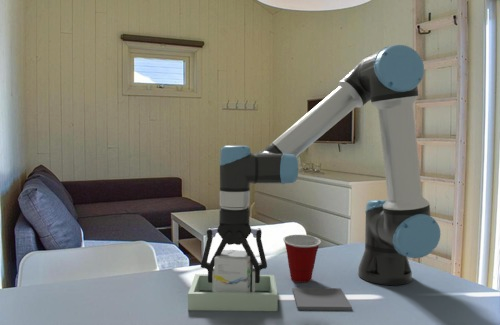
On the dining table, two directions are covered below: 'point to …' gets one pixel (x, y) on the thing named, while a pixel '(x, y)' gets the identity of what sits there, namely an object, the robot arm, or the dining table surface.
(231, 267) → the ink box
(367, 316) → the dining table surface
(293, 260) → the plastic cup
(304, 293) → the pad
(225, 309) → the bin
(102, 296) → the dining table surface
